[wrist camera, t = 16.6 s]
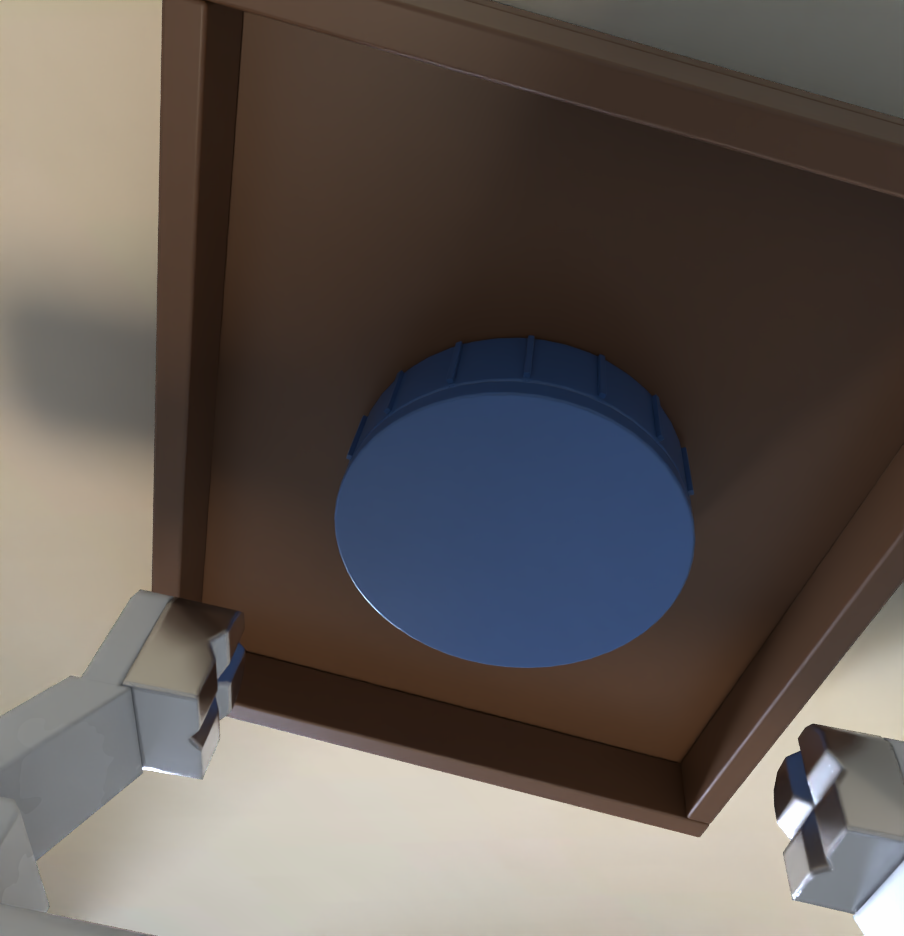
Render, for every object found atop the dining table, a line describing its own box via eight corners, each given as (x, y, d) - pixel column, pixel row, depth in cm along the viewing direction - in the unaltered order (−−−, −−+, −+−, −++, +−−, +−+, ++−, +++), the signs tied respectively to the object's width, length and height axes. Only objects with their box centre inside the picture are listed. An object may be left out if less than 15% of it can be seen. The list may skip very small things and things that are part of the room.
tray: (221, -78, 12) (161, -66, 10) (1104, 176, 12) (1188, 226, 11) (183, 629, 21) (148, 697, 19) (691, 761, 21) (700, 839, 20)
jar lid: (617, 630, 18) (620, 701, 17) (334, 556, 18) (311, 621, 16) (744, 390, 14) (763, 453, 13) (387, 292, 14) (363, 344, 13)
